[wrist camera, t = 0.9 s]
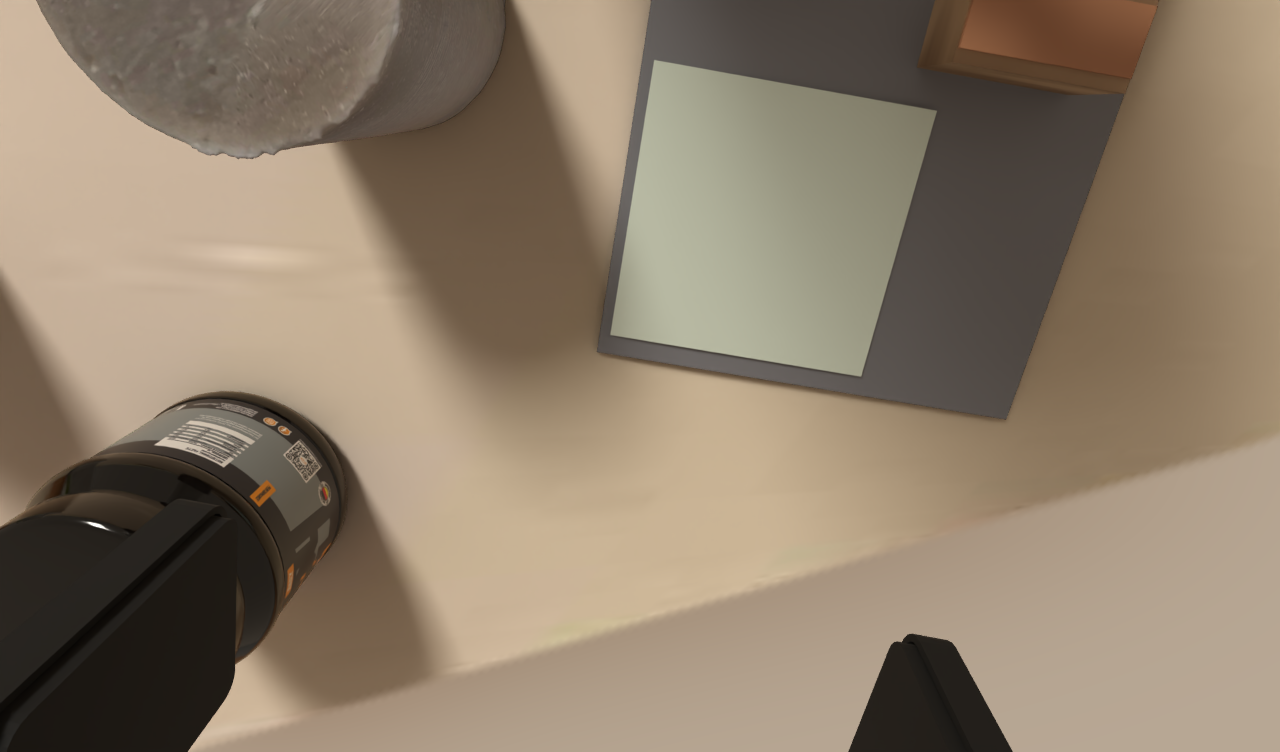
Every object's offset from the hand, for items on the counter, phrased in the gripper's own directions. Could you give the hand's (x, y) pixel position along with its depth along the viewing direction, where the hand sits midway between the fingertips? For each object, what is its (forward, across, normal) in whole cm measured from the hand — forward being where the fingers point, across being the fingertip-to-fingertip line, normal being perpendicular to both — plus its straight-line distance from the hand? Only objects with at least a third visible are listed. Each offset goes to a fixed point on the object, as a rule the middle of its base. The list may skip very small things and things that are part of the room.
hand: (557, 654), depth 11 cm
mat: (+26, -9, -9) cm, 29 cm away
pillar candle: (+26, +12, -9) cm, 30 cm away
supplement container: (+26, +17, +15) cm, 34 cm away
